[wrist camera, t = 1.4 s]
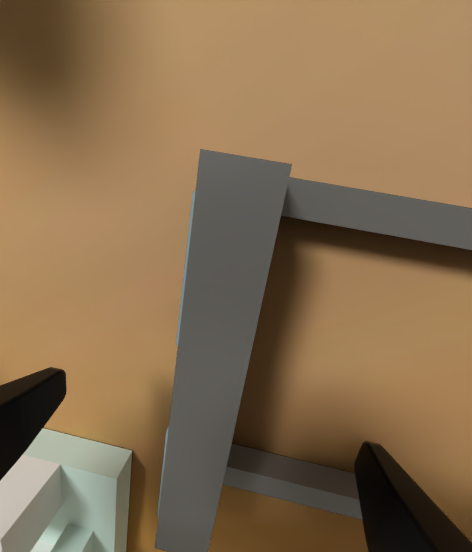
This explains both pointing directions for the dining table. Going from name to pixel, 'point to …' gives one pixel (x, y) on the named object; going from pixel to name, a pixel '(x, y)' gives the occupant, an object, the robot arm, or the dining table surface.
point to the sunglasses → (241, 331)
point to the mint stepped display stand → (66, 497)
